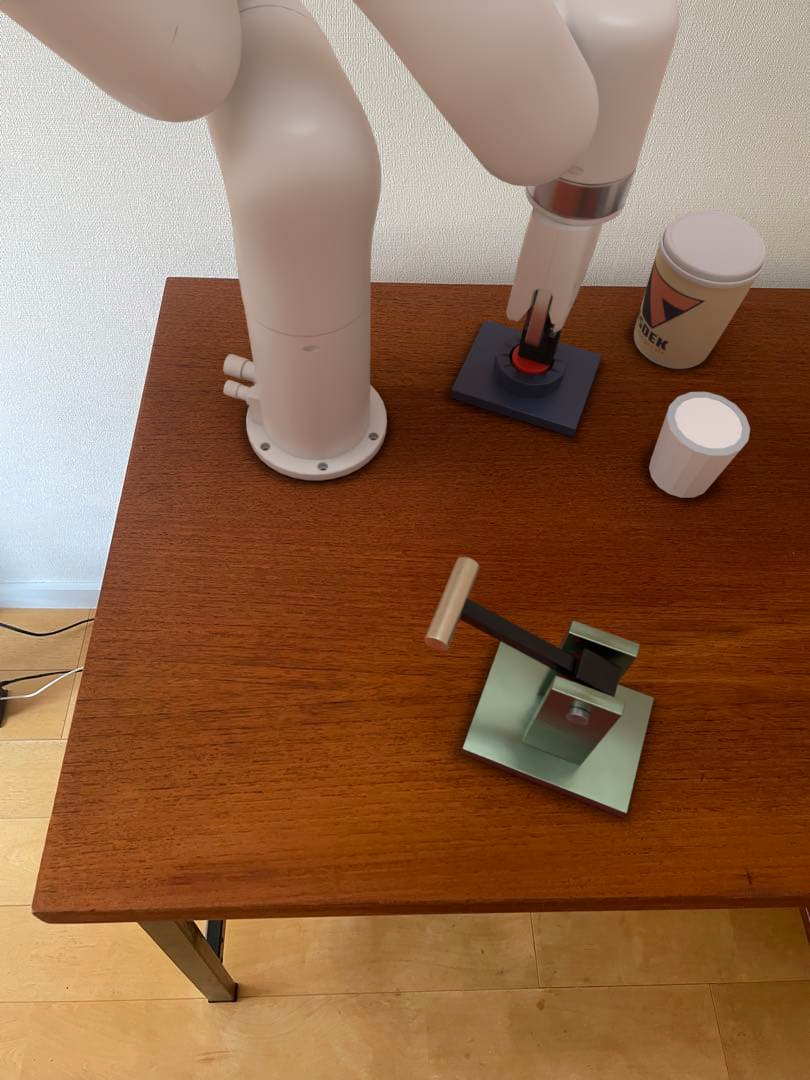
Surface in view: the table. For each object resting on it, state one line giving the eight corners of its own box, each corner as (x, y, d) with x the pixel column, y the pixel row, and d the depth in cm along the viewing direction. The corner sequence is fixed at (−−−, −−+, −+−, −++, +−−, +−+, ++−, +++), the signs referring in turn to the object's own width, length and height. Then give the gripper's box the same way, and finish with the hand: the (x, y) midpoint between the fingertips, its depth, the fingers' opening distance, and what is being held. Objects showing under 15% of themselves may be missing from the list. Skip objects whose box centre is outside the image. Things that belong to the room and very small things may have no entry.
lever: (417, 643, 49) (431, 632, 47) (450, 564, 52) (465, 550, 50) (586, 733, 50) (607, 726, 48) (608, 651, 53) (629, 641, 51)
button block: (450, 398, 75) (453, 375, 73) (483, 328, 80) (487, 305, 78) (573, 437, 73) (580, 416, 71) (599, 363, 78) (607, 341, 76)
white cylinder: (658, 430, 74) (684, 378, 68) (728, 462, 73) (761, 412, 67) (630, 481, 71) (654, 431, 65) (703, 516, 69) (735, 468, 63)
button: (505, 377, 75) (507, 363, 73) (516, 351, 77) (519, 338, 75) (541, 388, 74) (545, 375, 73) (552, 362, 76) (556, 349, 75)
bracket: (460, 753, 58) (480, 695, 48) (498, 647, 62) (524, 573, 52) (622, 817, 56) (679, 771, 46) (649, 702, 60) (706, 637, 50)
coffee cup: (609, 317, 82) (644, 216, 71) (690, 301, 83) (736, 200, 73) (650, 384, 77) (694, 285, 67) (735, 365, 79) (790, 266, 69)
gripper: (557, 110, 63) (520, 293, 78) (499, 223, 55) (471, 400, 71) (651, 133, 61) (595, 314, 77) (604, 252, 54) (553, 426, 70)
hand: (536, 355), depth 74 cm, fingers closed
